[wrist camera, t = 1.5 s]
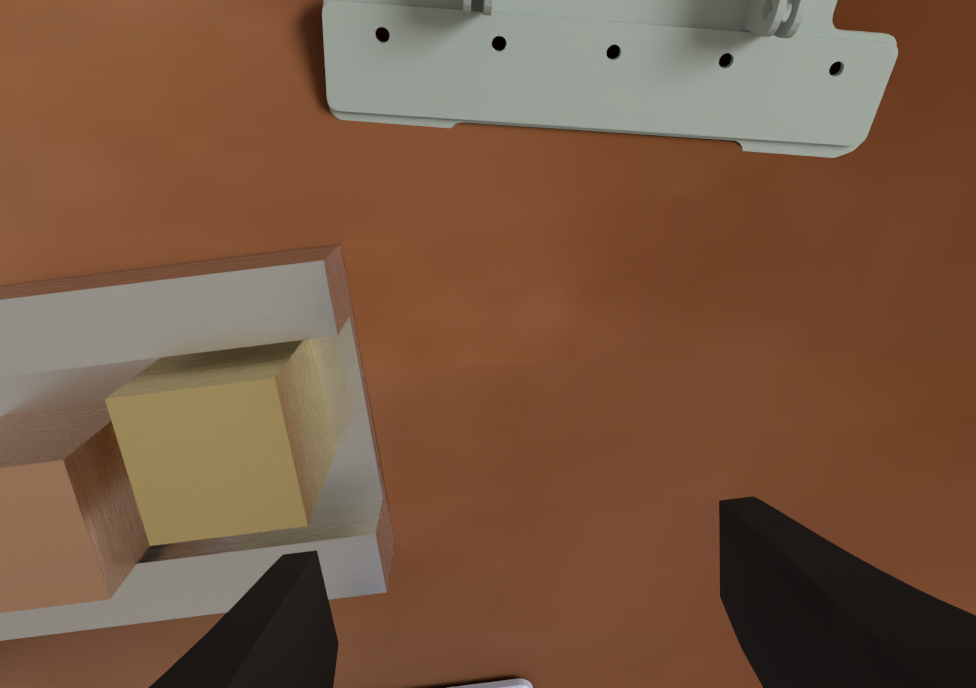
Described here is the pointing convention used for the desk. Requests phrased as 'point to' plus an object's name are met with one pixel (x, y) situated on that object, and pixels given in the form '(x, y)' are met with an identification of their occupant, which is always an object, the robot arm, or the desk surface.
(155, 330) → the aluminium channel
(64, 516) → the copper cube
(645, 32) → the metal bracket
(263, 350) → the brass cube
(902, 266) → the desk surface
